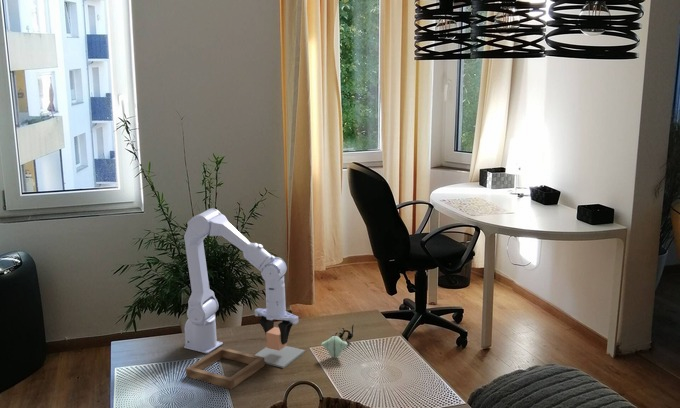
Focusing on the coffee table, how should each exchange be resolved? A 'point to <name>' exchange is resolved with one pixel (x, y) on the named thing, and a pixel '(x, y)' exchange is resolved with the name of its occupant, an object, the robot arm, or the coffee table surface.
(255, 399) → the coffee table surface
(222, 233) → the robot arm
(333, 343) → the pale green pointed piece
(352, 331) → the creature
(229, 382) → the well frame
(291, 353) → the tile
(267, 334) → the terracotta block
